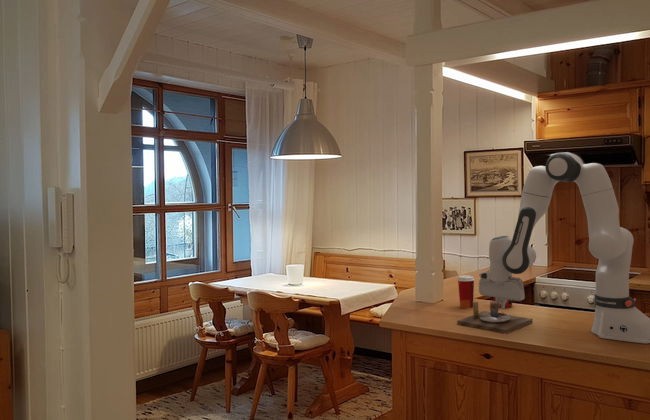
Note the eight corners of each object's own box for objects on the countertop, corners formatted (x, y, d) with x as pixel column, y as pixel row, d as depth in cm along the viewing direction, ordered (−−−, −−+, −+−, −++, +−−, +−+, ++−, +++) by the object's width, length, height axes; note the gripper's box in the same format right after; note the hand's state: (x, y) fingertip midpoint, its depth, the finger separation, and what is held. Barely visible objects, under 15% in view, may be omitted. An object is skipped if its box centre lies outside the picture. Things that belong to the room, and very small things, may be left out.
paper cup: (469, 304, 268) (468, 274, 267) (478, 308, 260) (477, 277, 259) (454, 306, 265) (453, 276, 264) (463, 310, 258) (462, 279, 257)
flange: (511, 323, 227) (510, 310, 227) (479, 322, 230) (479, 309, 230) (508, 313, 241) (508, 301, 241) (479, 313, 244) (478, 301, 244)
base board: (532, 322, 233) (532, 303, 232) (506, 333, 220) (505, 313, 219) (484, 314, 249) (483, 295, 249) (457, 324, 236) (456, 304, 235)
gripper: (527, 277, 232) (528, 311, 233) (485, 271, 248) (486, 303, 249) (518, 279, 228) (519, 314, 229) (476, 273, 245) (477, 305, 246)
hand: (501, 308), depth 239 cm, fingers closed
